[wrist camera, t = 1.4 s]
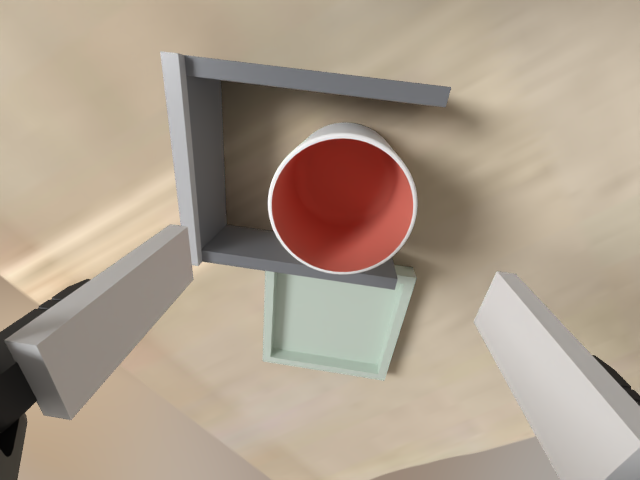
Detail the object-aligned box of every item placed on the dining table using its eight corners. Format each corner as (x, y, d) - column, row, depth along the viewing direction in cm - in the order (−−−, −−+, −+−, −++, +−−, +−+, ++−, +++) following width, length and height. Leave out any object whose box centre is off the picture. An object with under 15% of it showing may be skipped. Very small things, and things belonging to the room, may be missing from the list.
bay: (206, 62, 25) (160, 51, 19) (429, 89, 24) (455, 86, 18) (216, 232, 32) (185, 264, 26) (387, 257, 31) (395, 295, 25)
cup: (273, 159, 28) (237, 188, 19) (363, 97, 25) (370, 96, 16) (328, 239, 31) (319, 295, 22) (414, 192, 28) (443, 236, 19)
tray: (270, 247, 32) (265, 256, 30) (412, 267, 32) (416, 278, 30) (266, 348, 40) (262, 361, 38) (382, 367, 39) (384, 380, 37)
